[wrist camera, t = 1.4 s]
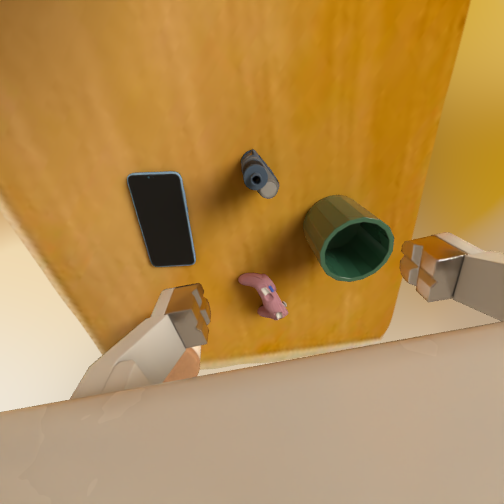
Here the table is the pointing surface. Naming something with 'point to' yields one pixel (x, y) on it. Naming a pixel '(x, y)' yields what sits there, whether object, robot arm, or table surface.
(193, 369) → the lidded bowl
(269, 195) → the vaping device
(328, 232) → the pen cup
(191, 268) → the table surface
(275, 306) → the video game controller
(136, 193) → the smartphone
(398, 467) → the robot arm
